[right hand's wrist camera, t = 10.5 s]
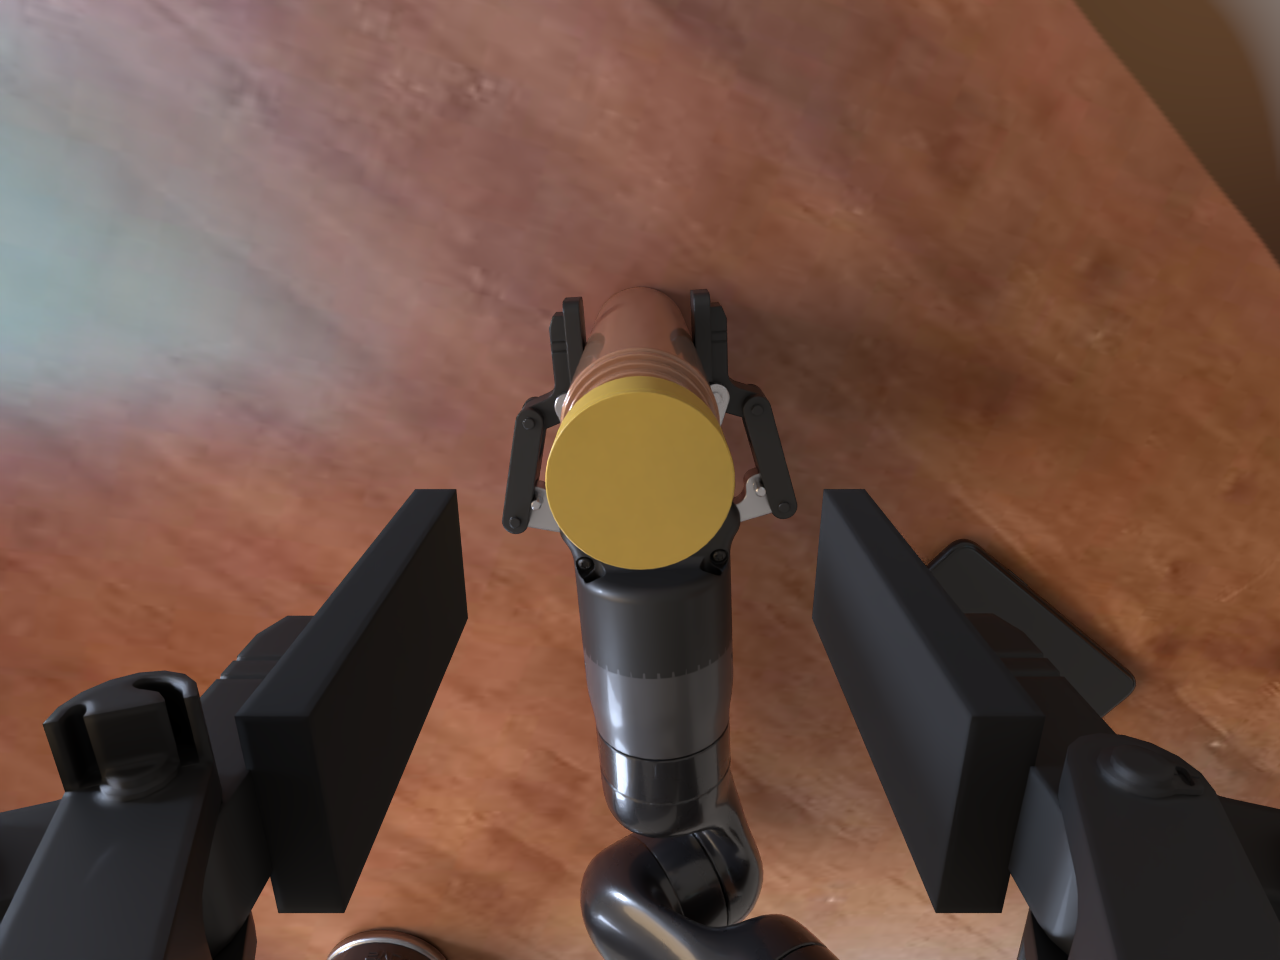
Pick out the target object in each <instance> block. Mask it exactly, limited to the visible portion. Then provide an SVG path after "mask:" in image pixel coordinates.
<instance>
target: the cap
mask: <svg viewBox="0 0 1280 960" xmlns="http://www.w3.org/2000/svg"><path fill="white" fill-rule="evenodd" d="M545 486H546V494H547V499H548V503H549V506H550V509H551V512H552V514H553V516H554V519H555V520H556V522H557V524H558V525H559V527H560V529H561V530H562V531H563V533H564V534H565V535H566V536H567V538H568V539H569V540H570V541H571V542H572V543H573V544H574V545H575V546H577V547H578V548H579V549H581V550H582V551H583V552H584V553H586V554H588V555H589V556H591V557H593V558H595V559H597V560H599V561H601V562H603V563H606V564H609V565H612V566H616V567H620V568H626V569H639V570H642V569H654V568H660V567H665V566H668V565H671V564H674V563H677V562H679V561H681V560H684V559H686V558H688V557H689V556H691V555H693V554H694V553H696V552H697V551H699V550H700V549H701V548H702V547H704V546H705V545H706V544H707V543H708V542H709V541H710V540H711V539H712V538H713V537H714V536H715V534H716V533H717V532H718V530H719V529H720V528H721V526H722V525H723V523H724V521H725V519H726V517H727V515H728V513H729V510H730V508H731V504H732V500H733V496H734V489H735V471H734V465H733V460H732V457H731V454H730V451H729V448H728V445H727V442H726V440H725V437H724V434H723V431H722V429H721V427H720V425H719V423H718V421H717V419H716V417H715V416H714V414H713V413H712V411H711V410H710V409H709V407H708V406H707V405H706V404H705V403H704V402H703V401H702V400H701V399H700V398H699V397H697V396H696V395H695V394H694V393H692V392H691V391H689V390H688V389H686V388H685V387H683V386H680V385H678V384H676V383H674V382H671V381H668V380H665V379H661V378H656V377H649V376H632V377H624V378H619V379H615V380H612V381H609V382H606V383H604V384H602V385H600V386H598V387H596V388H594V389H593V390H591V391H590V392H588V393H587V394H585V395H584V396H583V397H582V398H581V399H579V400H578V401H577V402H576V403H575V404H574V406H573V407H572V408H571V409H570V410H569V412H568V413H567V415H566V416H565V418H564V419H563V421H562V423H561V425H560V428H559V430H558V432H557V435H556V438H555V440H554V443H553V446H552V449H551V452H550V455H549V458H548V461H547V468H546V479H545Z"/></svg>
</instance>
